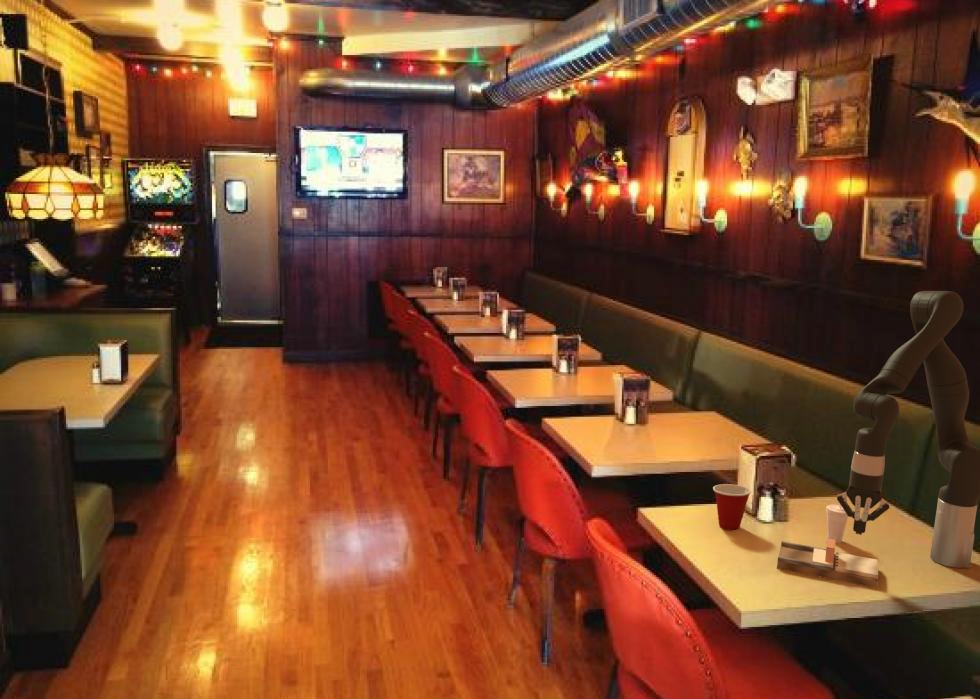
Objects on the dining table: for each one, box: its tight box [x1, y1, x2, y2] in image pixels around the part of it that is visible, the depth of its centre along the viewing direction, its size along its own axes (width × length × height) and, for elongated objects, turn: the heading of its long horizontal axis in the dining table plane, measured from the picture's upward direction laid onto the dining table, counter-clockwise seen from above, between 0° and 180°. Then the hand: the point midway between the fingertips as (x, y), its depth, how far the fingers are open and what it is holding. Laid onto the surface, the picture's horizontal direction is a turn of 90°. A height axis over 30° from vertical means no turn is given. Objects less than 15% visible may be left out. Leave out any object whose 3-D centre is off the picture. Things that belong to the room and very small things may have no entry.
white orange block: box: [812, 537, 836, 566], centre depth 218 cm, size 5×9×5 cm, turn 156°
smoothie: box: [825, 503, 849, 544], centre depth 235 cm, size 6×6×14 cm
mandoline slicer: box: [776, 540, 879, 589], centre depth 218 cm, size 24×12×3 cm, turn 66°
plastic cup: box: [712, 483, 752, 531], centre depth 243 cm, size 11×11×12 cm
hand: (858, 533), depth 214 cm, fingers closed
